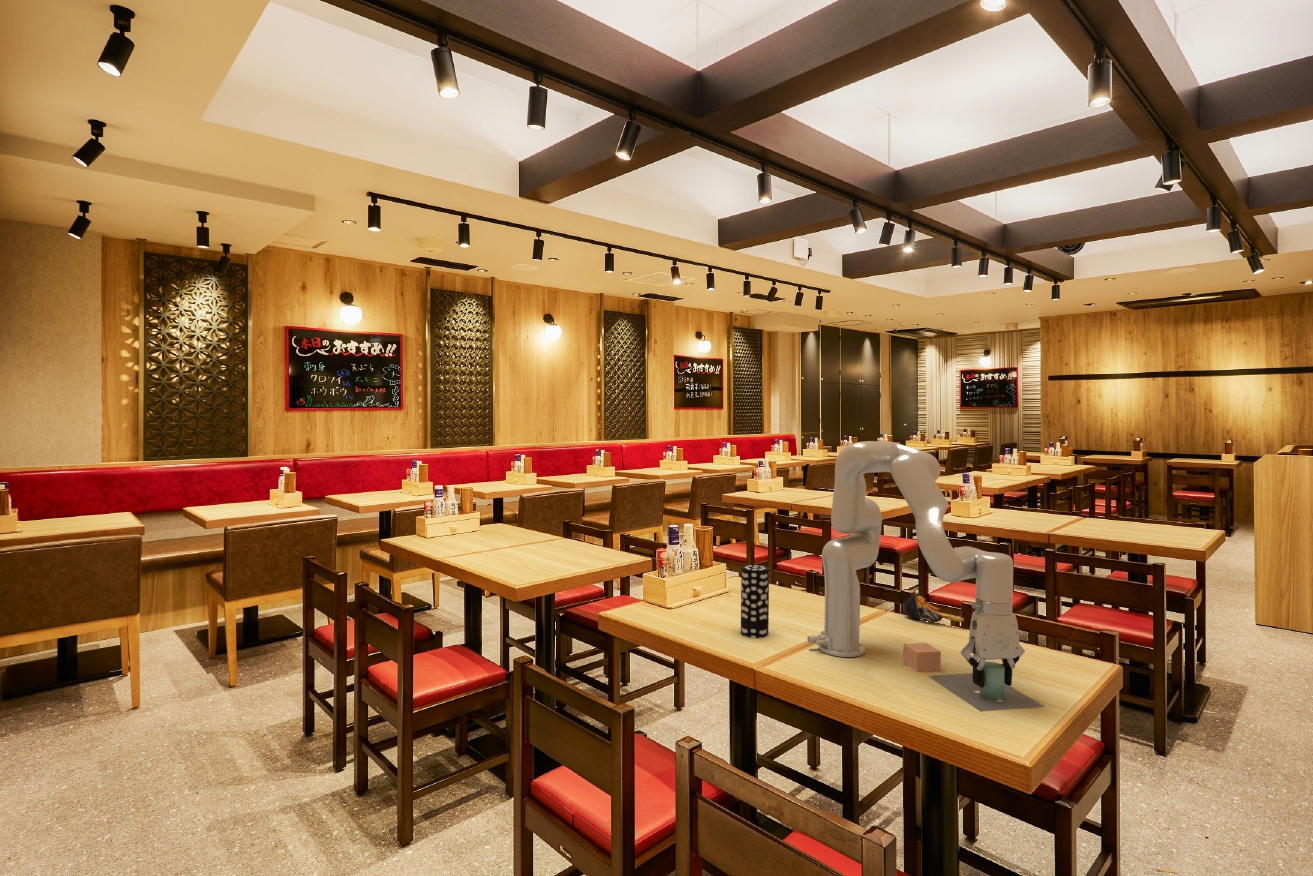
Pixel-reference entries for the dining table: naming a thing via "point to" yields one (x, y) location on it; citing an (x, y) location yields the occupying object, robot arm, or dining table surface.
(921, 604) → the black and orange piece
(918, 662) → the block
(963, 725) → the dining table surface
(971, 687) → the board
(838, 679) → the dining table surface
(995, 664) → the cylinder
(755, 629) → the spotted tube
